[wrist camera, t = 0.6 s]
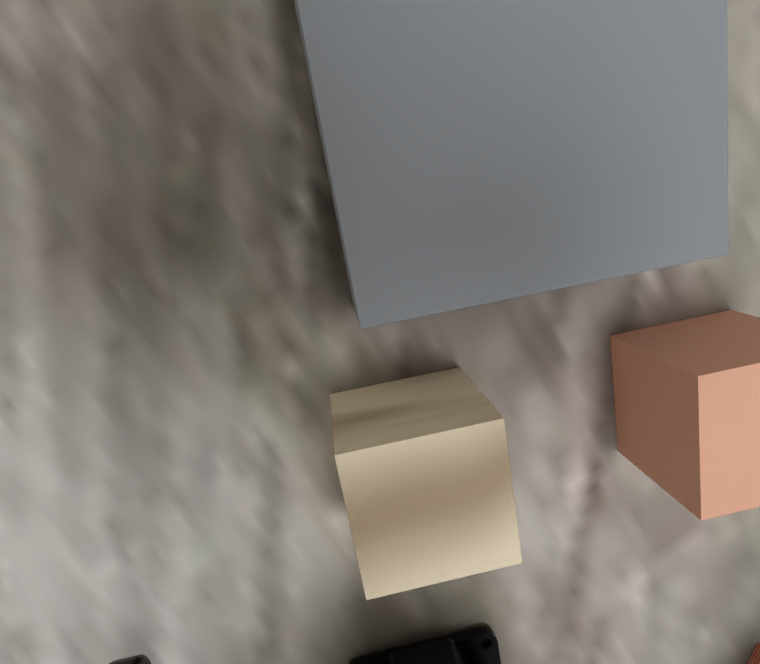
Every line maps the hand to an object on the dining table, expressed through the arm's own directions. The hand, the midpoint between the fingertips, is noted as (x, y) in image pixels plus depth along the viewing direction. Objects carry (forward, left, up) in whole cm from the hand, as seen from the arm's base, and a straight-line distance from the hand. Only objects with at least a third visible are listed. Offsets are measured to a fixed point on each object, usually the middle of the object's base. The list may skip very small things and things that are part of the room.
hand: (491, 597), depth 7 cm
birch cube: (-4, 0, -13) cm, 14 cm away
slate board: (+7, -5, -13) cm, 16 cm away
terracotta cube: (-4, -11, -13) cm, 18 cm away
